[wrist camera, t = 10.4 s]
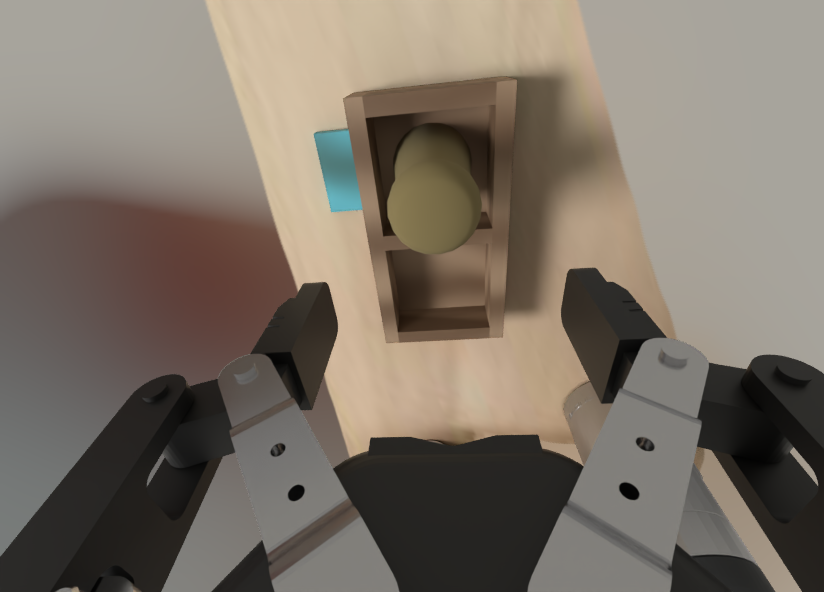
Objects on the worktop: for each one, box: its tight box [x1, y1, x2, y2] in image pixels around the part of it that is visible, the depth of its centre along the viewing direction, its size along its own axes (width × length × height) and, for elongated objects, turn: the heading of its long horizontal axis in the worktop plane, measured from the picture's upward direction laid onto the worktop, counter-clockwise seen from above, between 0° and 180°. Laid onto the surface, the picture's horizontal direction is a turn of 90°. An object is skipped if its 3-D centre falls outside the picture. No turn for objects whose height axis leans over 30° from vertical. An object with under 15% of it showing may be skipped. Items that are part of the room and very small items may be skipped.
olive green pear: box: [387, 123, 482, 255], centre depth 23 cm, size 6×6×11 cm
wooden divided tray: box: [314, 76, 517, 343], centre depth 29 cm, size 20×14×4 cm
